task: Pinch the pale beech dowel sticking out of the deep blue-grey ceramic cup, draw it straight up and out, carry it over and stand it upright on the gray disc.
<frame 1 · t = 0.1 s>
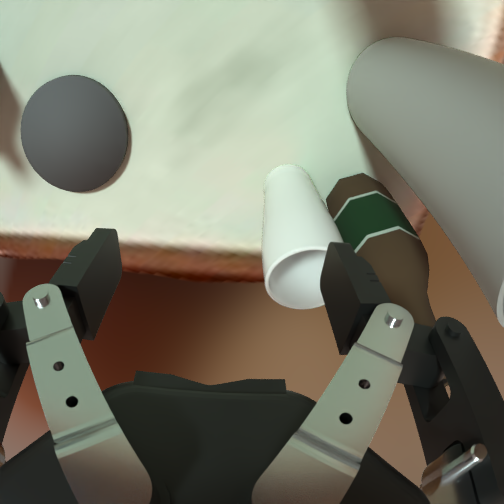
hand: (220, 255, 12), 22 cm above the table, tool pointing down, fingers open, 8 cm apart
gray disc: (71, 134, 30), on the table
cylinder vase: (398, 92, 28), on the table
drinking glass: (287, 182, 35), on the table
beer bottle: (354, 199, 37), on the table
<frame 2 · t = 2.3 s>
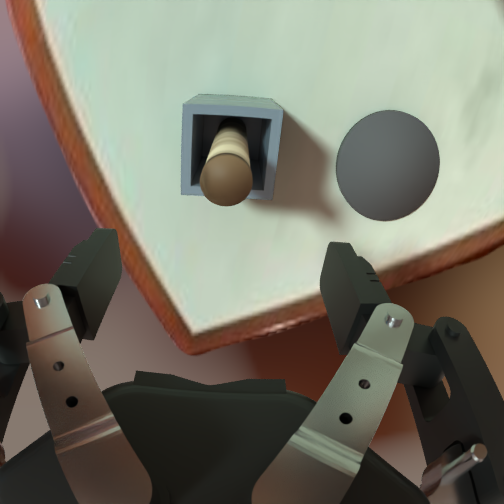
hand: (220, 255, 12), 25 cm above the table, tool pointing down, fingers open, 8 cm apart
gray disc: (389, 166, 35), on the table
deep cup: (232, 129, 33), on the table
beech dowel: (232, 131, 32), point 1 cm above the table, touching deep cup
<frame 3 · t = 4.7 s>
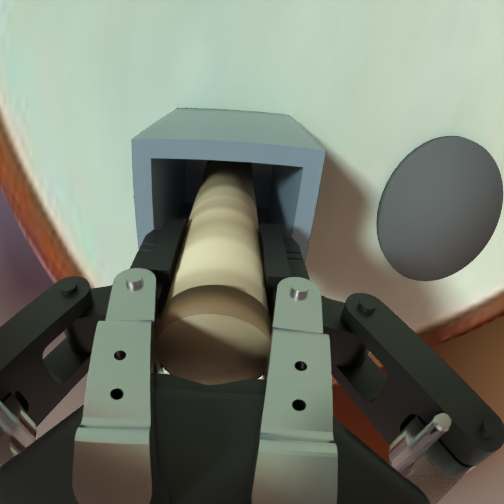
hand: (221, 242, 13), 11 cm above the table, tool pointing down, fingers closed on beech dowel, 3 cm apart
gray disc: (444, 212, 25), on the table
deep cup: (229, 162, 22), on the table
beech dowel: (229, 165, 21), point 1 cm above the table, touching deep cup, gripper
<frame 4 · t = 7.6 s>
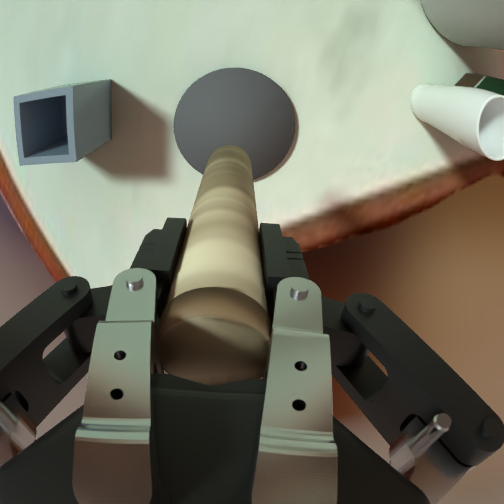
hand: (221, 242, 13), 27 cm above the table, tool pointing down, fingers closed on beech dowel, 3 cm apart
gray disc: (234, 125, 36), on the table
deep cup: (84, 111, 33), on the table
cylinder vase: (453, 5, 26), on the table
beech dowel: (229, 166, 21), point 17 cm above the table, touching gripper
drinking glass: (424, 101, 34), on the table
beer bottle: (470, 97, 33), on the table
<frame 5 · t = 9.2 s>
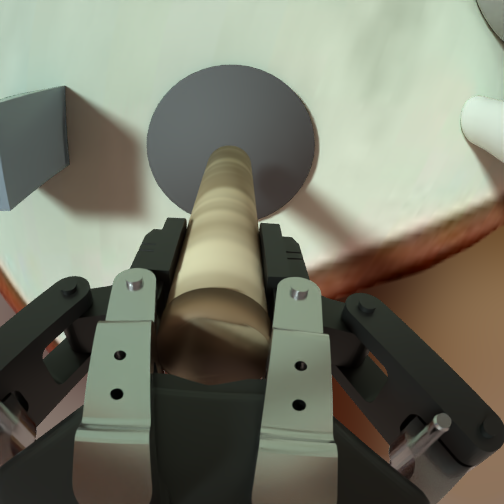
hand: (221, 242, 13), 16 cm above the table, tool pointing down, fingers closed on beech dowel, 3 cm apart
gray disc: (230, 145, 26), on the table
deep cup: (35, 129, 23), on the table
beech dowel: (229, 166, 21), point 6 cm above the table, touching gripper
drinking glass: (475, 118, 24), on the table
when the fingers open (12 cm above the table, at t = 10.6 s): beech dowel stays where it is, resting on gray disc.
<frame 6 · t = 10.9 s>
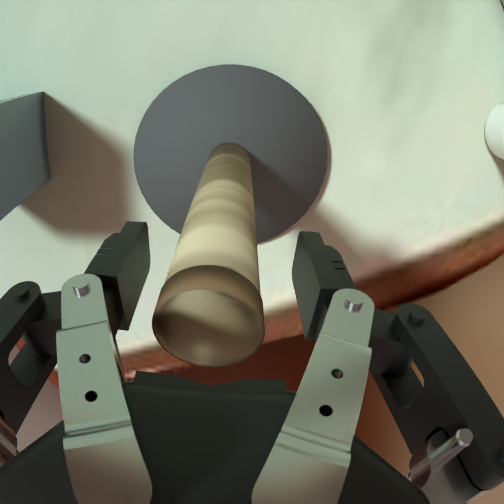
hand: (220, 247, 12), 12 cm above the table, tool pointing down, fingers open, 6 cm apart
gray disc: (229, 159, 23), on the table
deep cup: (12, 140, 20), on the table
beech dowel: (229, 162, 22), point 1 cm above the table, touching gray disc
drinking glass: (499, 128, 21), on the table
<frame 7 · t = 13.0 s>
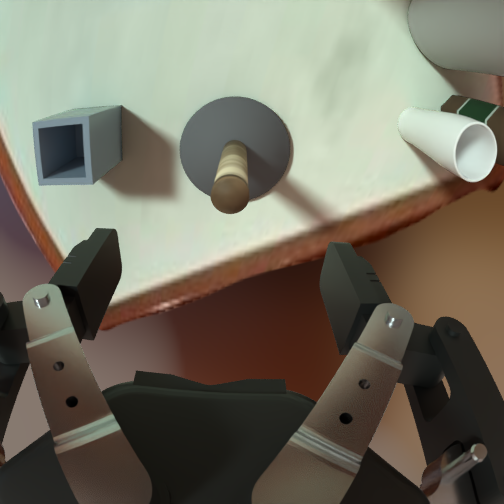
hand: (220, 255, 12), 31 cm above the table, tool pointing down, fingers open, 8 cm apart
gray disc: (234, 149, 40), on the table
deep cup: (96, 133, 37), on the table
cylinder vase: (441, 29, 30), on the table
beech dowel: (234, 151, 39), point 1 cm above the table, touching gray disc
drinking glass: (411, 124, 38), on the table
beer bottle: (456, 117, 37), on the table
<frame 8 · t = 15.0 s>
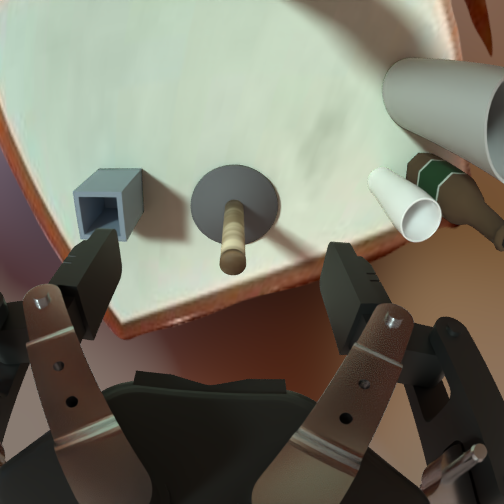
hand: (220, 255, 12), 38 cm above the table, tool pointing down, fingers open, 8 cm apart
gray disc: (234, 205, 52), on the table
deep cup: (121, 190, 50), on the table
cylinder vase: (413, 93, 42), on the table
beech dowel: (234, 208, 51), point 1 cm above the table, touching gray disc
drinking glass: (380, 180, 50), on the table
beer bottle: (421, 170, 49), on the table
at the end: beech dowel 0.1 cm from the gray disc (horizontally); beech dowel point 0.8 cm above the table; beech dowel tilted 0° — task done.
